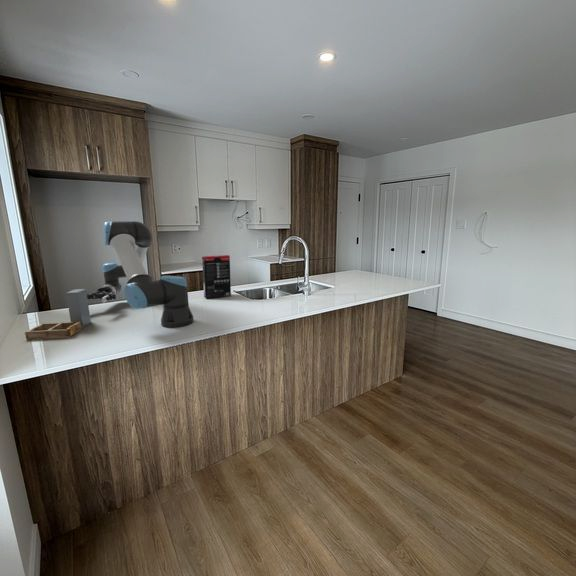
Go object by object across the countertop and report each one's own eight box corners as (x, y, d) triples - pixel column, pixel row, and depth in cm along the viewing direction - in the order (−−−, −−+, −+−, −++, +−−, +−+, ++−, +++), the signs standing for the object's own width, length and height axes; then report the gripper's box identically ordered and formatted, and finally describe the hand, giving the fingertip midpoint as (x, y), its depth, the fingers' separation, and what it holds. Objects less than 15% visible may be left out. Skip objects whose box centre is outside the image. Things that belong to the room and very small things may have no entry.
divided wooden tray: (43, 330, 147) (41, 321, 146) (84, 328, 149) (82, 319, 148) (26, 339, 135) (24, 330, 134) (70, 337, 137) (69, 327, 137)
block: (80, 322, 158) (75, 289, 155) (90, 321, 159) (85, 288, 155) (71, 327, 150) (66, 292, 147) (83, 327, 151) (77, 292, 148)
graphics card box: (228, 294, 216) (226, 254, 210) (232, 296, 210) (230, 255, 204) (203, 297, 208) (200, 256, 202) (206, 299, 202) (203, 257, 196)
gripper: (129, 297, 185) (115, 307, 164) (83, 299, 182) (63, 309, 161) (128, 285, 183) (113, 293, 163) (81, 286, 180) (61, 295, 159)
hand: (88, 301), depth 162 cm, fingers open, 13 cm apart
